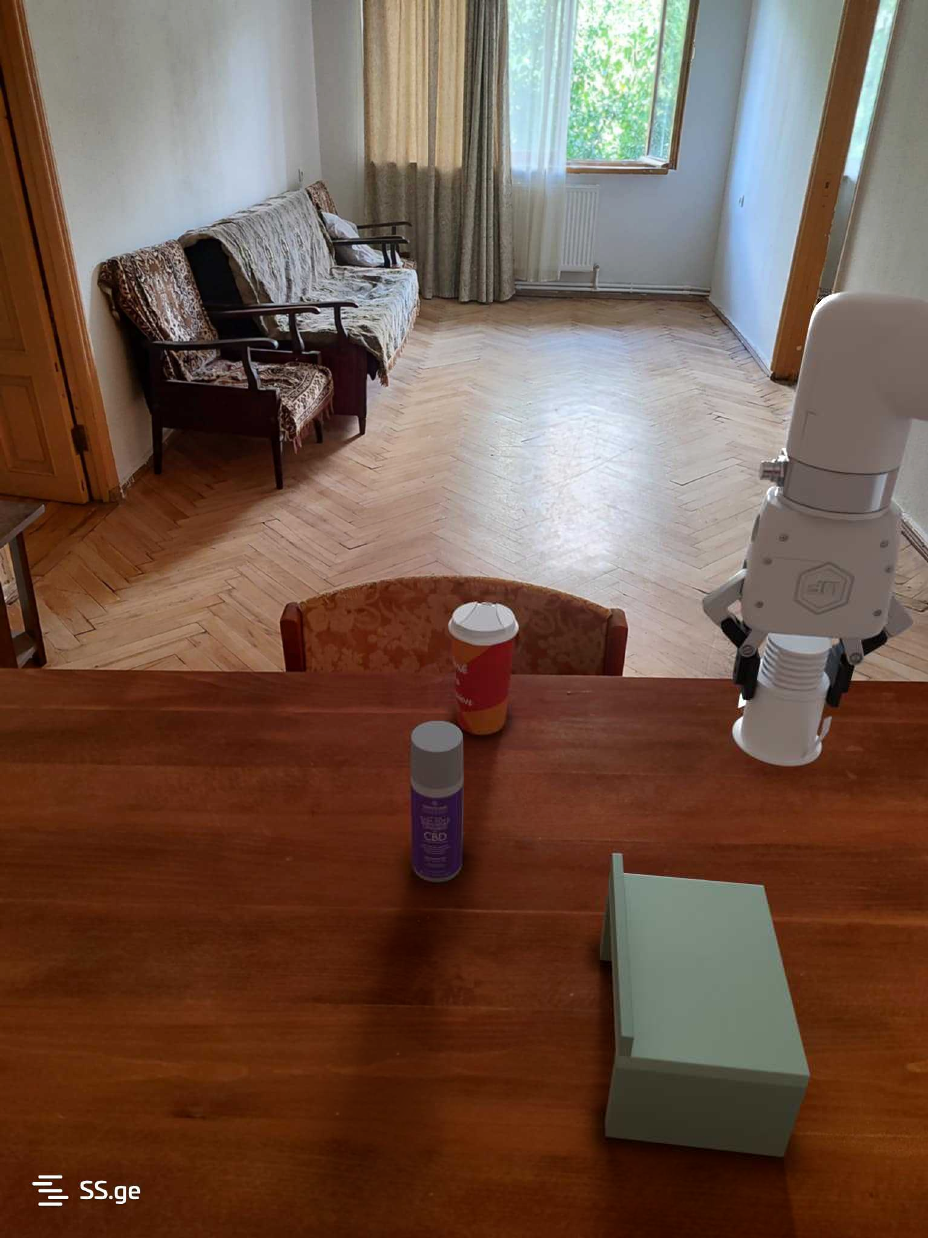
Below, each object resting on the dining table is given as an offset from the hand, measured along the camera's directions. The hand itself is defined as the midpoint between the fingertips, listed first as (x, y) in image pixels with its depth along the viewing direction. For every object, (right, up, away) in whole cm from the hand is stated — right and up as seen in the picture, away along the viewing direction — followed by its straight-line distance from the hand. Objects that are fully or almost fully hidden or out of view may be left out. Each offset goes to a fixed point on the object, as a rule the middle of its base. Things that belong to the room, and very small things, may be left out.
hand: (787, 692), depth 71 cm
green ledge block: (-9, -26, -3) cm, 28 cm away
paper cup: (-24, -6, +32) cm, 41 cm away
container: (-28, -17, +13) cm, 36 cm away
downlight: (0, -4, +3) cm, 5 cm away
